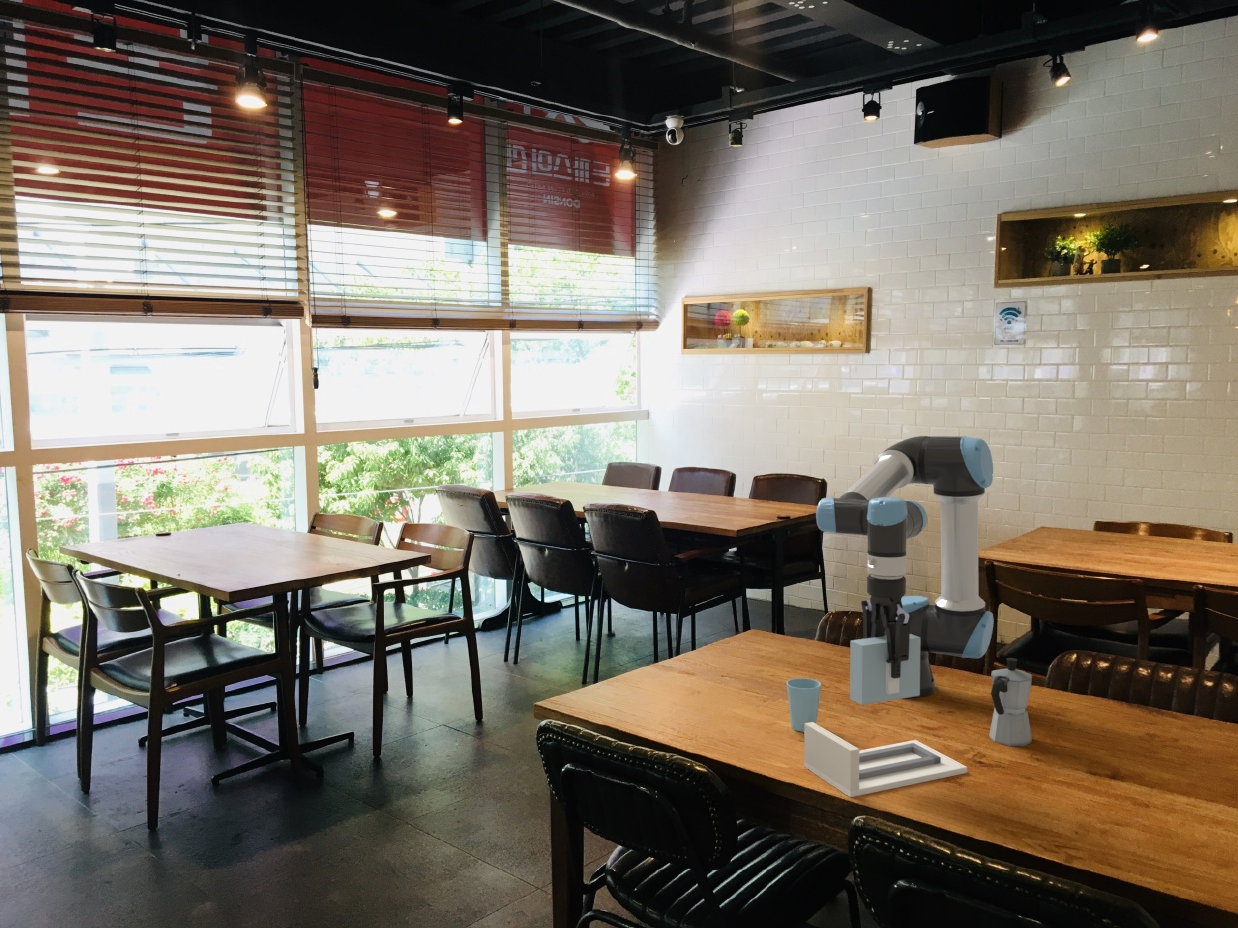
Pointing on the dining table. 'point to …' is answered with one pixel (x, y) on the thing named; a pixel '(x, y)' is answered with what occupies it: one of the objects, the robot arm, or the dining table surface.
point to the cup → (803, 701)
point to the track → (872, 763)
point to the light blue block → (881, 671)
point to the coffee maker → (1010, 705)
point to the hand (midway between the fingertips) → (885, 689)
